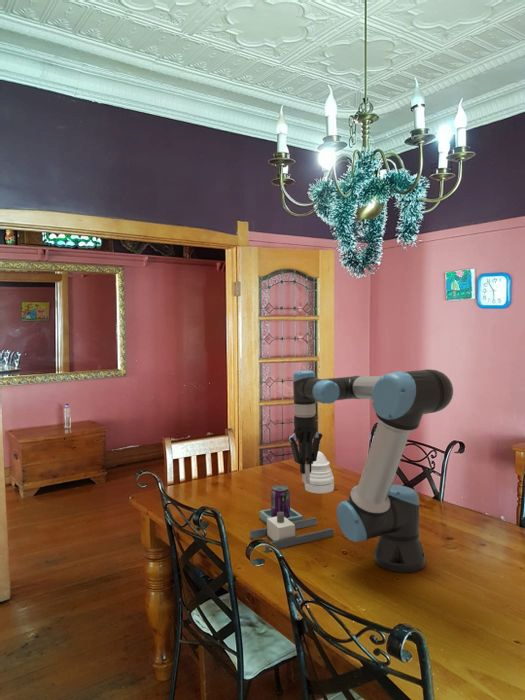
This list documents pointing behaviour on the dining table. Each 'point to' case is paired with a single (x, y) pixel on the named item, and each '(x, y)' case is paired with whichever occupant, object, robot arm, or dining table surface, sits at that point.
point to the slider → (280, 527)
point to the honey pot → (320, 476)
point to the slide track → (296, 539)
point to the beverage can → (280, 500)
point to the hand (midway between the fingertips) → (305, 482)
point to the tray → (293, 517)
